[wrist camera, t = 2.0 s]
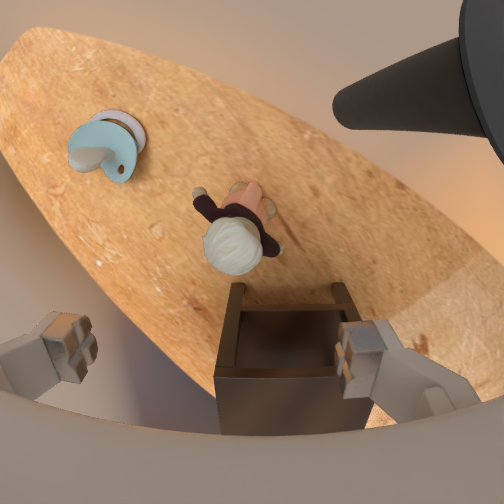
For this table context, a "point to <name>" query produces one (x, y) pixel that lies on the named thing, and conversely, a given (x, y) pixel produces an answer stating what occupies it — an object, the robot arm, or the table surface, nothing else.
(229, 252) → the grandmother figurine
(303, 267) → the table surface
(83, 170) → the pacifier
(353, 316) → the rack
